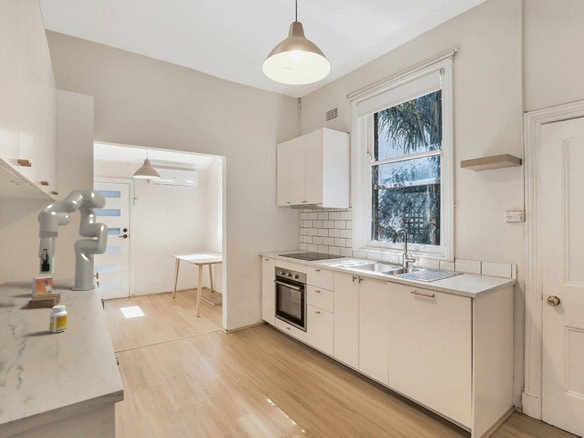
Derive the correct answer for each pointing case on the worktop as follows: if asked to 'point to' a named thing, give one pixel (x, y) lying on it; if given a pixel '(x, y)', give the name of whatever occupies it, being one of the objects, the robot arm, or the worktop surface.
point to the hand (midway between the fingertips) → (46, 270)
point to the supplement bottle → (58, 319)
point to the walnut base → (44, 301)
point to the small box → (42, 286)
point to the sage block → (51, 261)
